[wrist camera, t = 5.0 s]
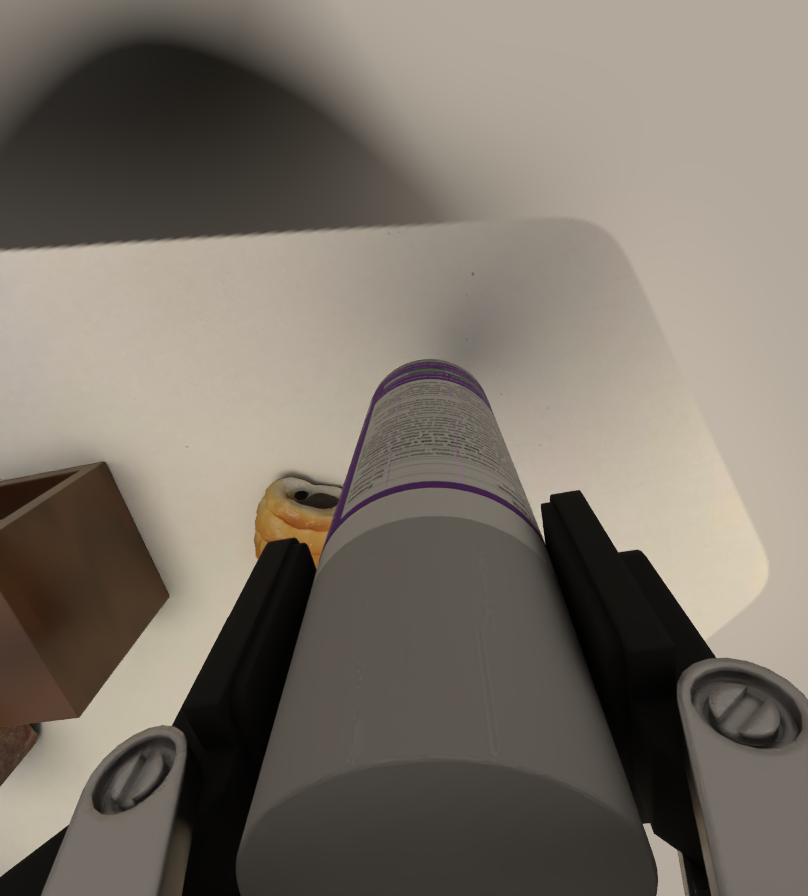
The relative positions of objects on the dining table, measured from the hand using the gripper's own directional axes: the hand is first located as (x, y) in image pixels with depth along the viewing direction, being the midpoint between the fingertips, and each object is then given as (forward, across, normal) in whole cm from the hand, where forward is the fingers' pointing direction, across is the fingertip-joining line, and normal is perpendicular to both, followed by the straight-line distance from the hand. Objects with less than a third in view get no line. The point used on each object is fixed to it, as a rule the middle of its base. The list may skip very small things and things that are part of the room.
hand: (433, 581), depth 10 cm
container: (+10, 0, 0) cm, 10 cm away
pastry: (+20, +10, +10) cm, 24 cm away
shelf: (+20, +29, +8) cm, 36 cm away
